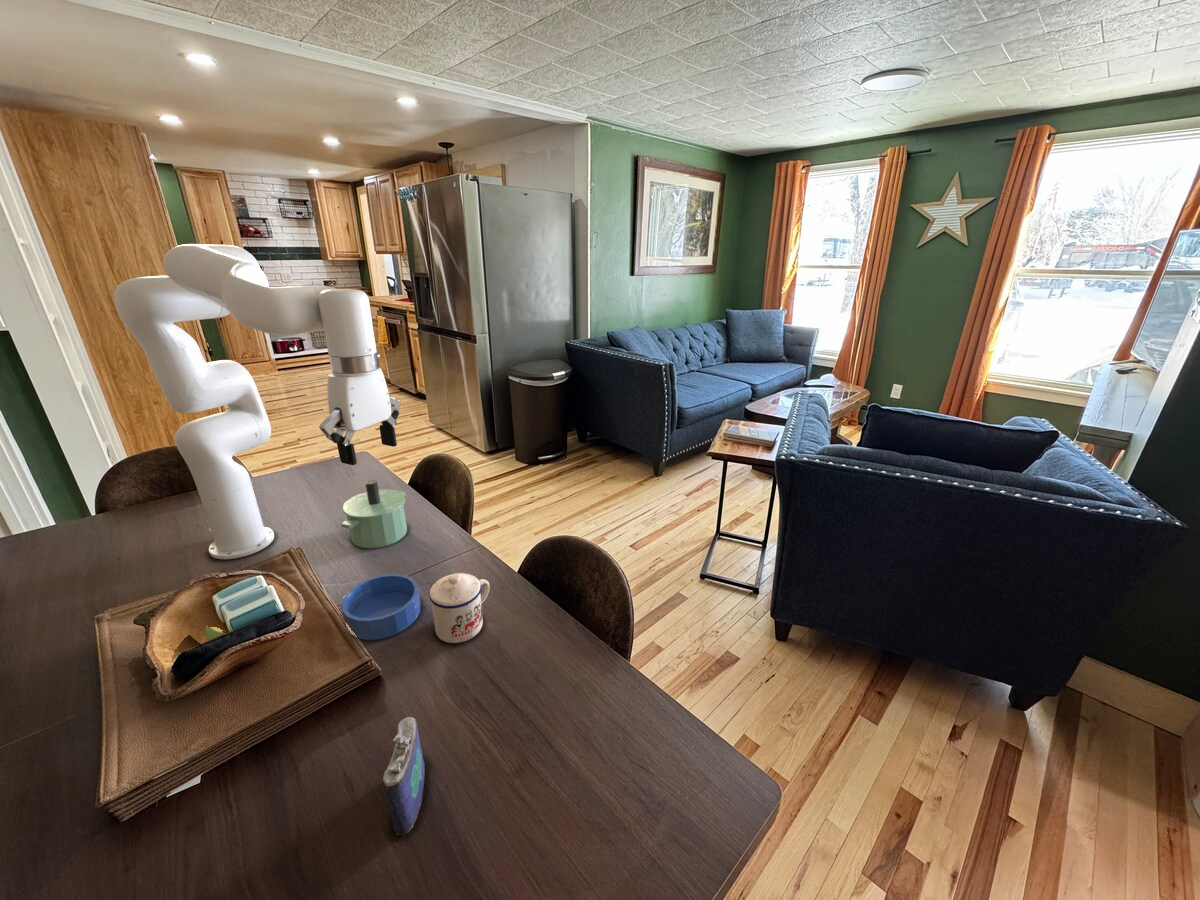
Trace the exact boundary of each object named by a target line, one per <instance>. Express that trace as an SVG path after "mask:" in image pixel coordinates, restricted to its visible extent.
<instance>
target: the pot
mask: <svg viewBox="0 0 1200 900" xmlns="http://www.w3.org/2000/svg"><path fill="white" fill-rule="evenodd" d="M397 491H399V492H401V493H402V494H403V495H404V496H405V497H406V495H407V494H406V491H403V490H397ZM340 524H341V528H343V529H348V530H349V532H350V533H349V535H350V539H351V541H352V544H353V545H355V546H357V547H359V548H363V549H377V548H383V547H387V546H390V545H393V544H395V543H397V542H398V541H400V540H401V539H403V538H404V537H405V536H406V534H407V532H408V526H407V518H406V512H405V505H404V504H403V505H402V506H401V507H400V508H399V509H398V510H396V511H394V512H392V513H389V514H387V515H384V516H380V517H375V518H353V517H350V516H347V515H346V520H345V521H342V522H341V523H340Z"/></svg>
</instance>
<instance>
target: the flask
mask: <svg viewBox="0 0 1200 900" xmlns="http://www.w3.org/2000/svg"><path fill="white" fill-rule="evenodd" d="M418 729H419V728H418V722H417V720H416V718H414V717H412V716H407V717H405V718H403V719H402V720H400V721H399V722H398V725H397V726H396V735H395V736H394V738H393V739H392V741H393V742H395V743H394V747H393V752H392V755H391V758H390V761H389V764H388V765H387V767H386V769H385V770H384V774H383V775H382V787H383V791H384V795H385V797H386V801H387V806H388V809H389V813H390V815H391V816H390V817H391V821H392V825H393V830H394V832H395V833H396V836H398V835H406V834H408V833H409V832H410V831H411V829H413V828H414V825H415V822H416V821H417V818H418V815H419V812H420V809H421V805H422V803H423V802H422V801H423V797H424V787H425V786H424V785H425V779H426V778H425V777H426V774H425V773H426V770H425V768H426V767H425V761H424V757H423V751H422V745H421V740H420V734H419V730H418Z"/></svg>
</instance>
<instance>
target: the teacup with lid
mask: <svg viewBox="0 0 1200 900" xmlns="http://www.w3.org/2000/svg"><path fill="white" fill-rule="evenodd" d="M482 586H483V591H482ZM490 587H491V586H490V582H489V581H488V580H487V579H483V578H481V579H478V578H477V577H476V576H474V575H472V574H470V573H464V572H459V573H458V572H457V573H456V572H455V573H452V574H448V575H445V576H443V577H440V578H439V579H438V580H437V581H435V582H434V584H433V585H432V586H431V587H430V591H429V595H428V596H429V601H430V602H431V610H432V616H433V623H434V631H435V634H436V636H437V637H438V639H440V640H441V641H442V642H445V643H449V644H459V643H463V642H466V641H469V640H471V639H473V638H475V636H476V635H478V634H479V632H480V631H481V629H482V627H483V625H484V624H483V623H484V622H483V621H484V620H483V609H482V608H483V607H482V604H483V603H484V602H485V600H486V599H487V597H488V595H489V593H490ZM481 591H482V592H481Z"/></svg>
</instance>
